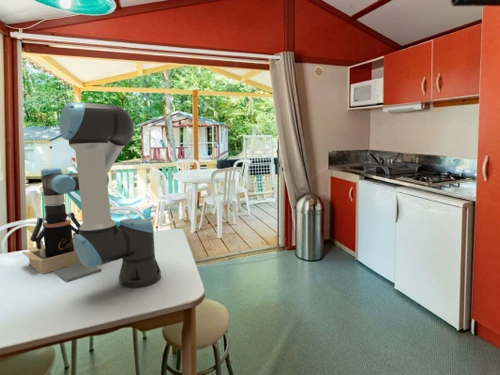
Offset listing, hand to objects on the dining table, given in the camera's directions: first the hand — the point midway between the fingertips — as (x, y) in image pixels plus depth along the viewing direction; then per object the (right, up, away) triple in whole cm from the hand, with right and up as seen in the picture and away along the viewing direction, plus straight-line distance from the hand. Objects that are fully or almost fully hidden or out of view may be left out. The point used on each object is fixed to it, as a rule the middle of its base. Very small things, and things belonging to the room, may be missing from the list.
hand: (60, 251), depth 140 cm
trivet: (+14, -6, -11) cm, 19 cm away
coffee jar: (0, -5, +1) cm, 5 cm away
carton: (0, -5, +1) cm, 5 cm away
